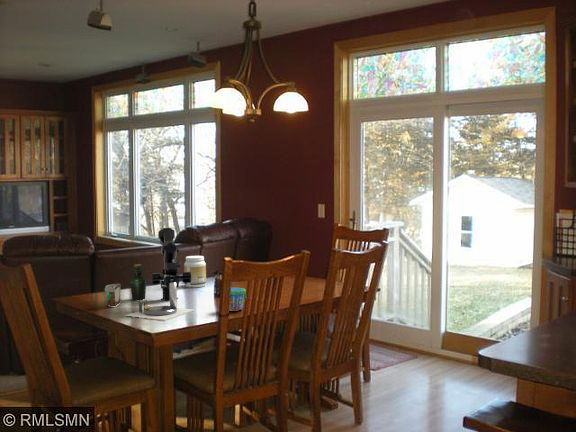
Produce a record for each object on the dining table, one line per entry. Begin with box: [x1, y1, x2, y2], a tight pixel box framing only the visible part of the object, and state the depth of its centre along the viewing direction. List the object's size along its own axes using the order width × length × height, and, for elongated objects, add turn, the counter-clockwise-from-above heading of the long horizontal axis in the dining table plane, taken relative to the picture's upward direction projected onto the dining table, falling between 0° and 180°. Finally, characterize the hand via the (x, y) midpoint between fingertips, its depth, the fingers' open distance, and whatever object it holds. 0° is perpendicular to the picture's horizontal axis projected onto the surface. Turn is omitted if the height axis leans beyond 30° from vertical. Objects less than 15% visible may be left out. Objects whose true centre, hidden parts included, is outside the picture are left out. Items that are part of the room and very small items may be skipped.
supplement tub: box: [183, 255, 207, 289], centre depth 370 cm, size 12×12×17 cm
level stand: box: [125, 299, 195, 322], centre depth 299 cm, size 22×22×5 cm
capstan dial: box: [143, 282, 178, 315], centre depth 299 cm, size 15×15×13 cm
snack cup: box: [230, 287, 247, 310], centre depth 303 cm, size 16×10×10 cm
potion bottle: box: [129, 263, 147, 301], centre depth 333 cm, size 8×8×18 cm
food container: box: [104, 283, 122, 306], centre depth 318 cm, size 12×6×10 cm, turn 1°
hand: (172, 292), depth 304 cm, fingers closed
